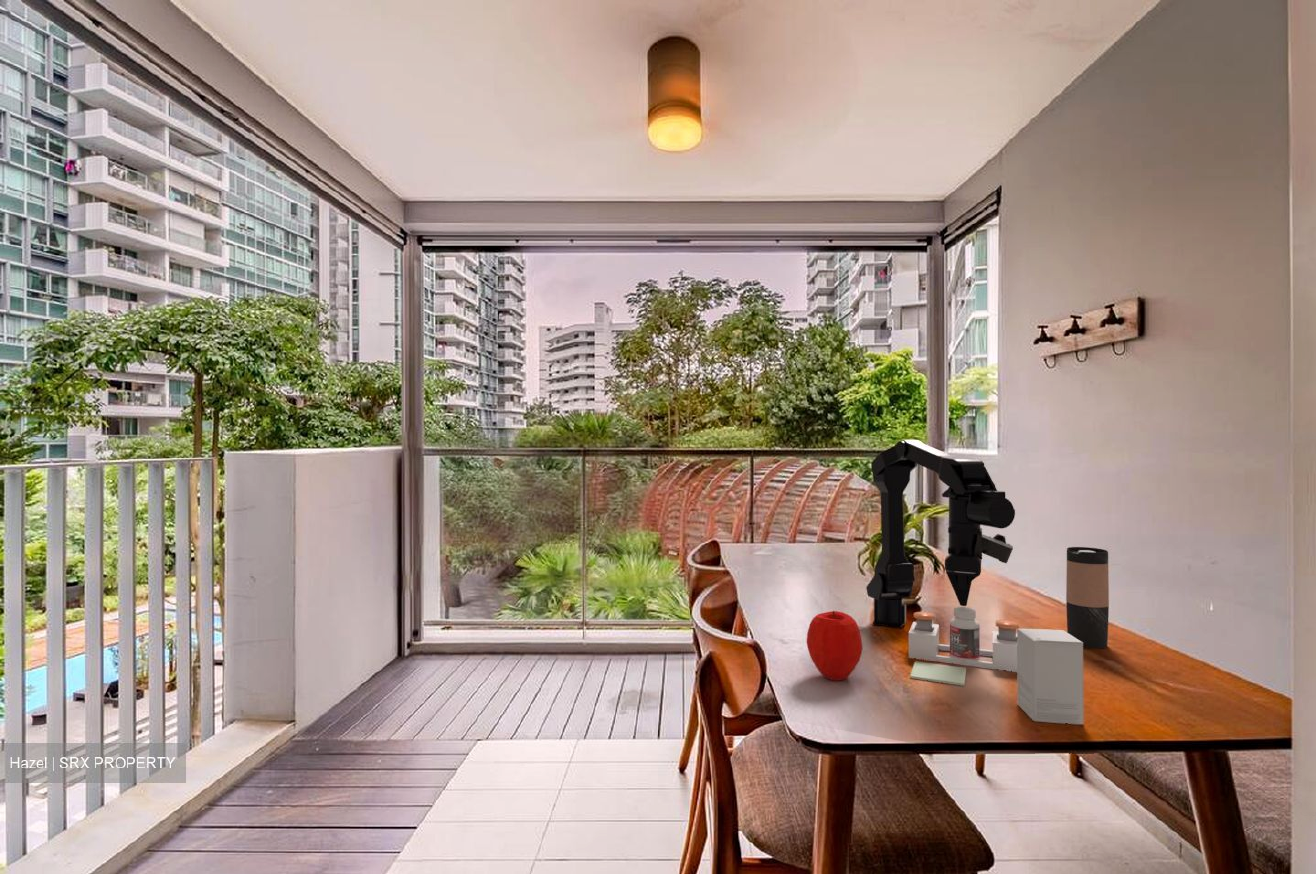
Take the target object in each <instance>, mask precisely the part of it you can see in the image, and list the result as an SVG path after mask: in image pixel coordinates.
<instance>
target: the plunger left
mask: <svg viewBox="0 0 1316 874" xmlns="http://www.w3.org/2000/svg"><path fill="white" fill-rule="evenodd" d="M913 618H915V619H916V620H915V622H916V630H921V631H929V632H932V624H933V620H935V619H936V614H934V613H932V612H925V611H916V612H914V613H913Z"/></svg>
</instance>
